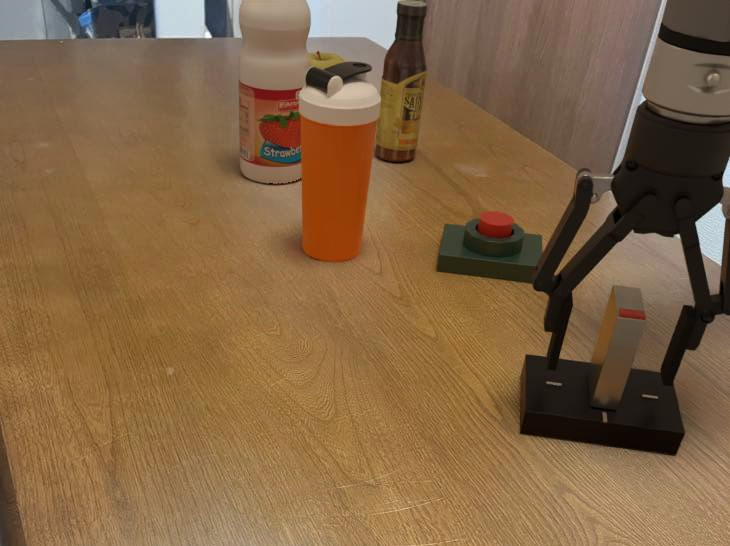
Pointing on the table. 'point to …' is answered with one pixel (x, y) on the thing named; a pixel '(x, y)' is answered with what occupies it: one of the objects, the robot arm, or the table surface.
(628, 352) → the grey tall block
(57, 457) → the table surface
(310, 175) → the shaker bottle
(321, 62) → the apple
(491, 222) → the button
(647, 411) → the panel
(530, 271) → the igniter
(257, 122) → the fruit juice
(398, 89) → the sauce bottle
